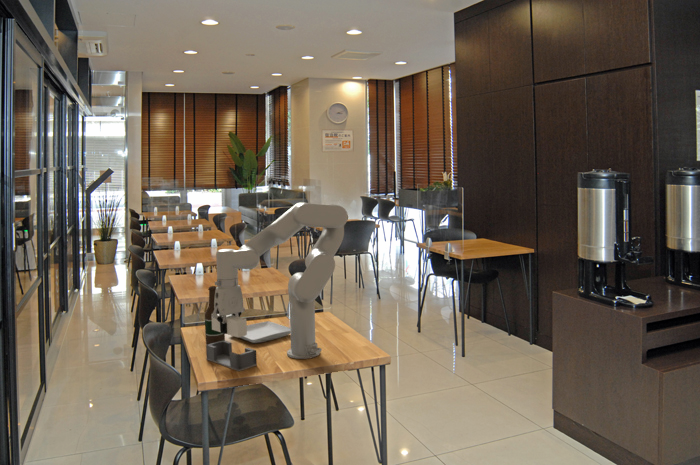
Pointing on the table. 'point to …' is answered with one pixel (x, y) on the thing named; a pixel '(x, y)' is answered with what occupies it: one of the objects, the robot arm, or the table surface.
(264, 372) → the table surface
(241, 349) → the table surface
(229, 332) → the beige rectangular block
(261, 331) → the salad plate
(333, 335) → the table surface
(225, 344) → the endcap jig
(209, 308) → the beer bottle
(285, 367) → the table surface
